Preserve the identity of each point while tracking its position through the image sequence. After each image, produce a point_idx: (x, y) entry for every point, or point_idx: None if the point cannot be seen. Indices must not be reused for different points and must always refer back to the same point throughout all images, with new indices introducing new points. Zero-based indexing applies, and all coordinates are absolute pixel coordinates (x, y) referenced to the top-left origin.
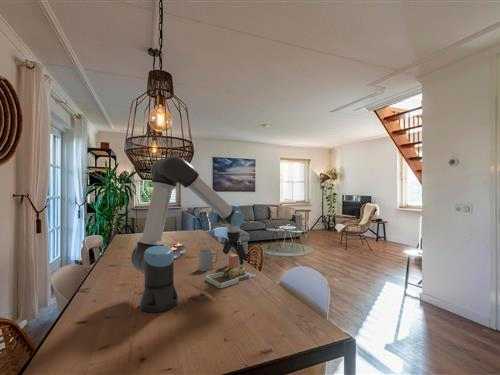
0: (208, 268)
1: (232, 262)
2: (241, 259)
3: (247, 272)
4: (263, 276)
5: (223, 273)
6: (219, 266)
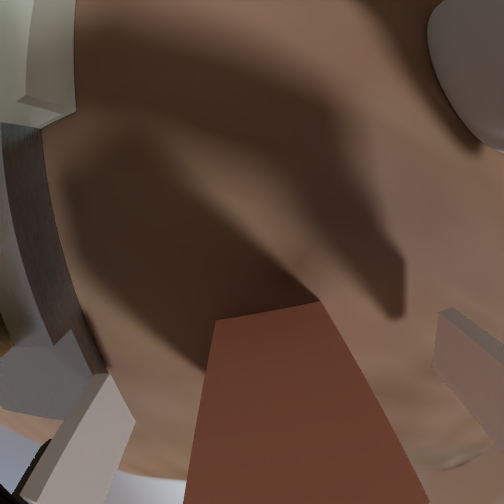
0: (445, 40)
1: (220, 417)
2: (13, 495)
3: (67, 409)
4: (32, 437)
5: (31, 103)
6: (498, 249)
